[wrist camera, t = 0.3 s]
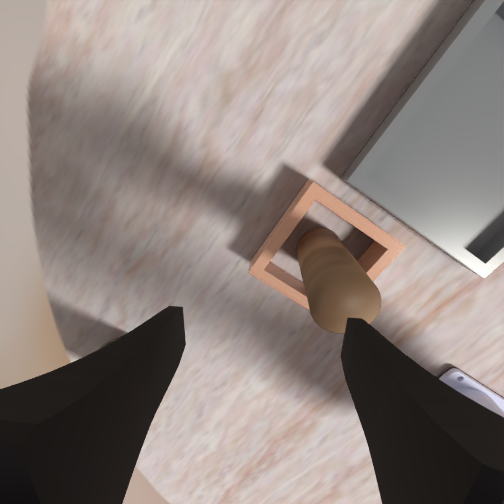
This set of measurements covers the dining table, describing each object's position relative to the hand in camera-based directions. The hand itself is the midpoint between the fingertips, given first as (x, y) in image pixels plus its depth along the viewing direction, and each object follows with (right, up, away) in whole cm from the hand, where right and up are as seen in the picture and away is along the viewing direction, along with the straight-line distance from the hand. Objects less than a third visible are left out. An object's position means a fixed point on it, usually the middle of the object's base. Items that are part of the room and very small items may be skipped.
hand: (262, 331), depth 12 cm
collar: (+5, +4, +9) cm, 11 cm away
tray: (+14, +10, +6) cm, 18 cm away
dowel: (+5, +4, +9) cm, 11 cm away
